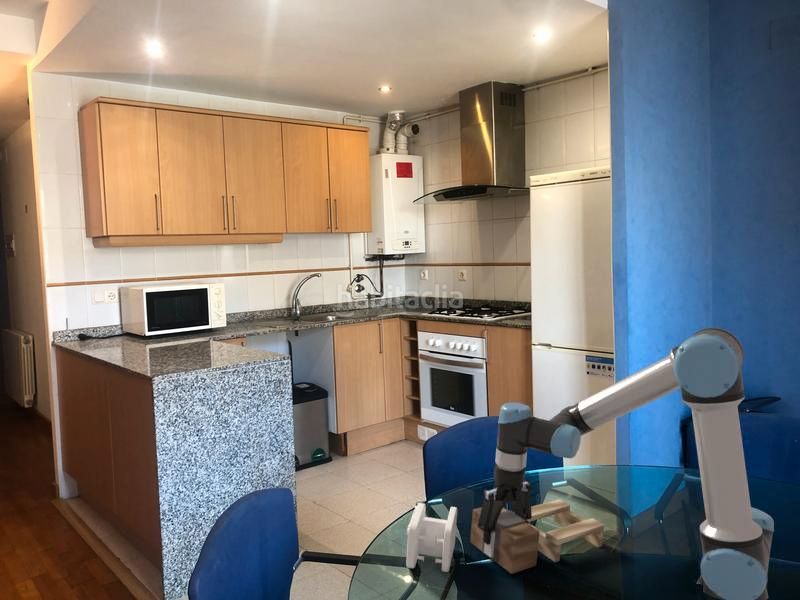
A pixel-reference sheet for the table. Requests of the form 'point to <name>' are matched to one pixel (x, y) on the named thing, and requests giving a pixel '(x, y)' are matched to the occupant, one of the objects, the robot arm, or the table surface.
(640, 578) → the table surface
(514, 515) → the wooden block with band
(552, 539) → the wooden bar frame
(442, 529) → the cable organizer
